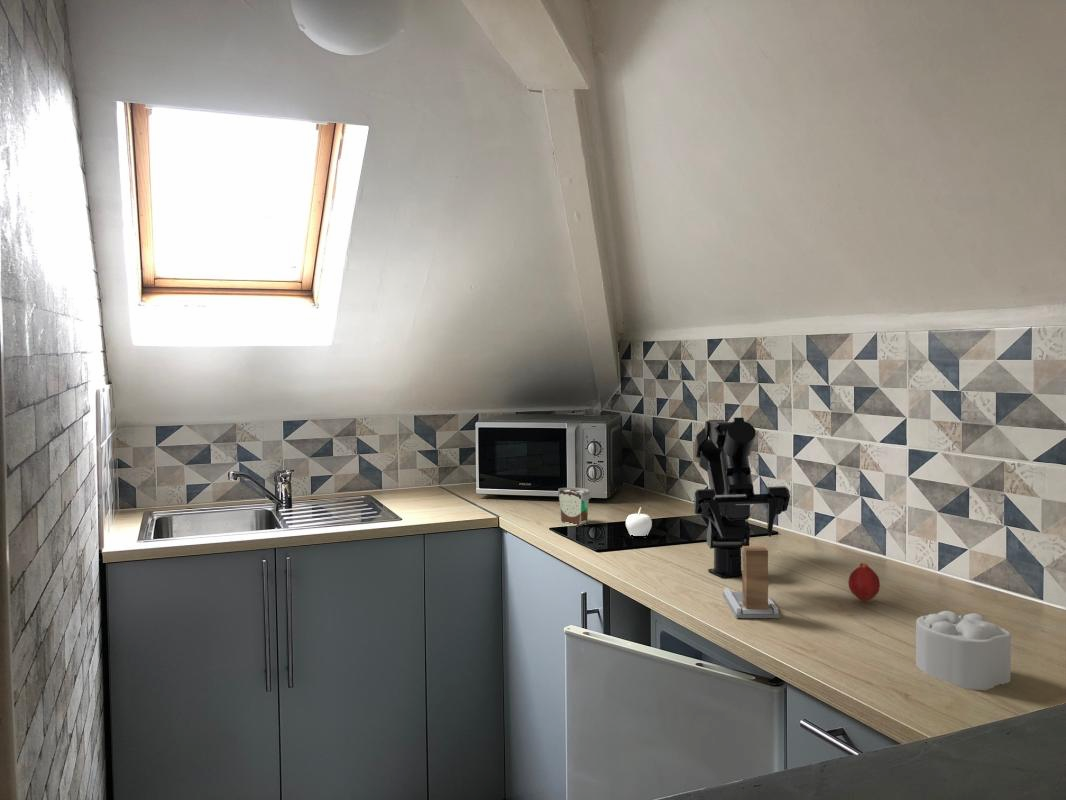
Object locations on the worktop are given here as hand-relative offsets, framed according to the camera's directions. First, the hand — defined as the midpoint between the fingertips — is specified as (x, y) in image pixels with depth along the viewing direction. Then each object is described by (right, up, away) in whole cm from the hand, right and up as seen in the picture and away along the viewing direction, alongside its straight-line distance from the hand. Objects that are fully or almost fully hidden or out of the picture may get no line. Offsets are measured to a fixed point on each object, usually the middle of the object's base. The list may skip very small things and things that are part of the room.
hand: (746, 536), depth 169 cm
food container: (-29, -10, +83) cm, 88 cm away
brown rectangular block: (0, -14, -8) cm, 16 cm away
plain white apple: (-13, -10, +63) cm, 65 cm away
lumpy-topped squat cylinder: (+23, -15, -38) cm, 47 cm away
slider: (0, -13, -3) cm, 14 cm away
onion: (+23, -13, -1) cm, 26 cm away
